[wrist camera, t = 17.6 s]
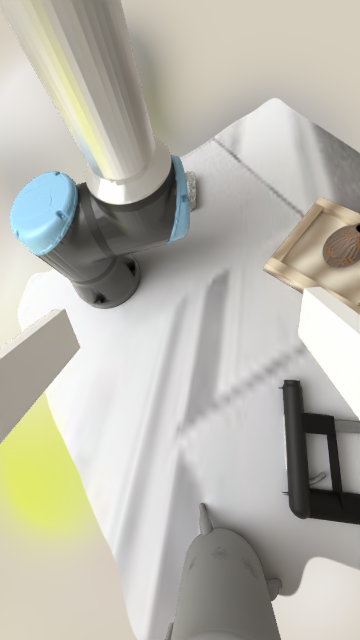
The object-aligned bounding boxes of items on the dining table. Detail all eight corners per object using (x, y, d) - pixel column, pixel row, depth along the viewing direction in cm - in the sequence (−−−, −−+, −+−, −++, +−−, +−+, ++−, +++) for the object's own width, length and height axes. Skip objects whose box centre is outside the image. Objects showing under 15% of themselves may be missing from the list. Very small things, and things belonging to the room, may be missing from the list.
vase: (310, 261, 46) (331, 233, 37) (328, 237, 47) (353, 204, 38) (343, 279, 44) (372, 253, 35) (361, 254, 45) (395, 223, 36)
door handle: (382, 386, 36) (279, 378, 38) (408, 537, 31) (286, 520, 33) (367, 386, 40) (273, 379, 41) (389, 523, 34) (278, 509, 36)
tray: (263, 270, 48) (265, 263, 45) (315, 205, 50) (320, 196, 48) (356, 325, 42) (364, 321, 39) (409, 248, 44) (420, 241, 42)
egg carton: (167, 184, 59) (164, 169, 56) (196, 180, 58) (194, 165, 55) (167, 216, 56) (163, 203, 52) (197, 213, 55) (196, 199, 51)
